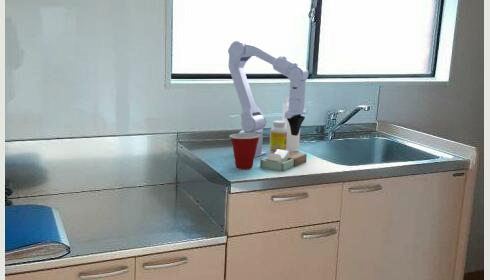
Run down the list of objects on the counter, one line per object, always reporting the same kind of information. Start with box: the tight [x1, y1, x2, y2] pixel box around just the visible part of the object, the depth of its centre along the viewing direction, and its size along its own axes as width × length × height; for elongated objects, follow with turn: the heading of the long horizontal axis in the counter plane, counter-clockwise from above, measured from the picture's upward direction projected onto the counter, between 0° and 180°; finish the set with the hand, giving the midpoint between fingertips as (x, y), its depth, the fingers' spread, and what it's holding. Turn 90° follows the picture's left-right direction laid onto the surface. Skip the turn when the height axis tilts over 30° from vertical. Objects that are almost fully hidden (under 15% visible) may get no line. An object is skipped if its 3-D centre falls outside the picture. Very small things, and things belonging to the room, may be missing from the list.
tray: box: [259, 157, 295, 172], centre depth 193 cm, size 9×9×3 cm
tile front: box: [267, 152, 284, 163], centre depth 191 cm, size 4×4×2 cm
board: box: [287, 151, 308, 168], centre depth 201 cm, size 10×10×3 cm
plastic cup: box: [229, 132, 260, 171], centre depth 189 cm, size 11×11×12 cm
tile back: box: [274, 149, 290, 162], centre depth 194 cm, size 4×4×2 cm
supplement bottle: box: [268, 120, 287, 154], centre depth 214 cm, size 7×7×13 cm
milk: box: [281, 96, 301, 153], centre depth 220 cm, size 6×6×22 cm
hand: (294, 135), depth 202 cm, fingers closed
